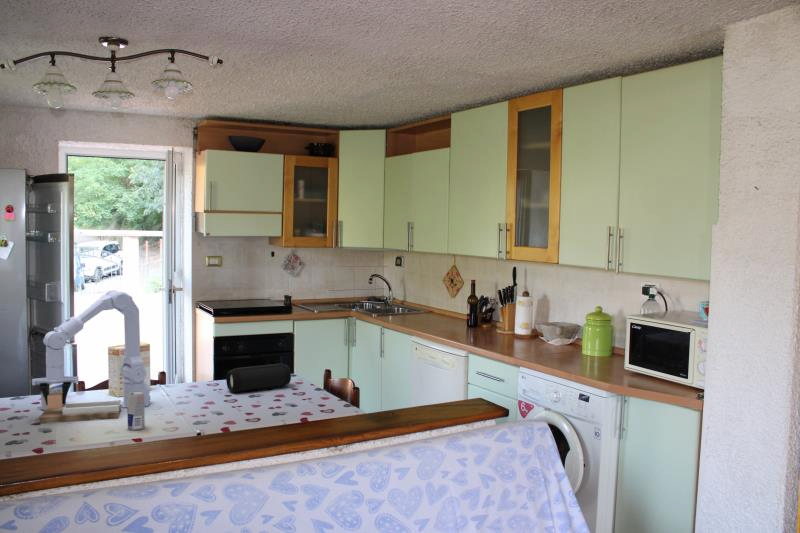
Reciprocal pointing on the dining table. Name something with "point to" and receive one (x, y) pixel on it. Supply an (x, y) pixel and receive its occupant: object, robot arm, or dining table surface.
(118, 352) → the coffeecake box
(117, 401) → the rails
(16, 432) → the dining table surface
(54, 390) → the medicine box
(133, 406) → the energy drink
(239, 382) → the portable speaker
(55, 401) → the block
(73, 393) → the dining table surface
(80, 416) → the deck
